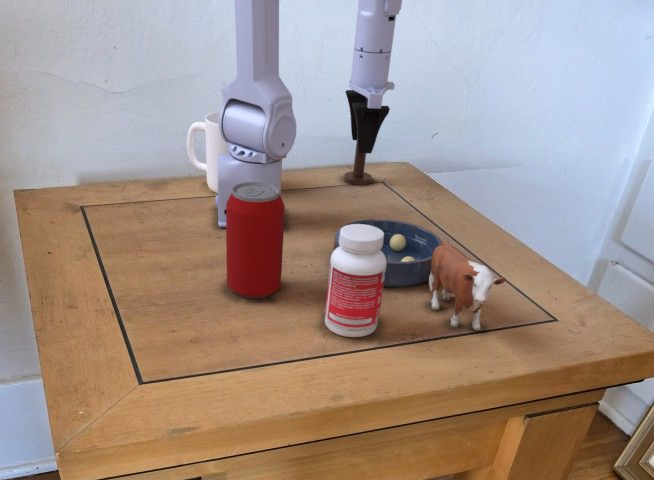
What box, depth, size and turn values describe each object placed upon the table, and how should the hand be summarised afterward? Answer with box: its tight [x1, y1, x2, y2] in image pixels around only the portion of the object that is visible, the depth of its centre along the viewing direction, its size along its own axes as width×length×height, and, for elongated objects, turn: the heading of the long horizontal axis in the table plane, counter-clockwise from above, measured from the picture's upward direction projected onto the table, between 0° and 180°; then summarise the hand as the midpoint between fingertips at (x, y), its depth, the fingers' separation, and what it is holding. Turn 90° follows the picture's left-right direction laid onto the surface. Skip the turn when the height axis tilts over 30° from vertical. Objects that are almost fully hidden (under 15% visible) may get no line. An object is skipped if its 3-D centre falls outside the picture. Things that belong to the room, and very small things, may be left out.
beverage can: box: [225, 182, 285, 299], centre depth 83 cm, size 7×7×12 cm
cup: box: [186, 110, 230, 194], centre depth 110 cm, size 8×12×10 cm
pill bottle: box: [324, 224, 387, 338], centre depth 77 cm, size 6×6×11 cm
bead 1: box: [390, 234, 406, 251], centre depth 95 cm, size 2×2×2 cm
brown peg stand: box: [343, 141, 373, 186], centre depth 115 cm, size 5×5×10 cm
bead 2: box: [400, 256, 415, 262], centre depth 90 cm, size 2×2×2 cm
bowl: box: [332, 218, 443, 288], centre depth 92 cm, size 14×14×4 cm
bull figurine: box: [428, 241, 507, 332], centre depth 81 cm, size 4×13×8 cm, turn 13°
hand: (361, 146), depth 115 cm, fingers open, 6 cm apart
